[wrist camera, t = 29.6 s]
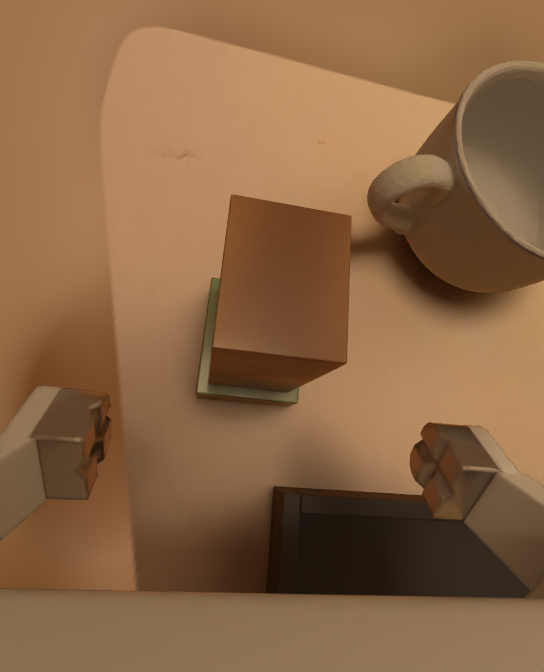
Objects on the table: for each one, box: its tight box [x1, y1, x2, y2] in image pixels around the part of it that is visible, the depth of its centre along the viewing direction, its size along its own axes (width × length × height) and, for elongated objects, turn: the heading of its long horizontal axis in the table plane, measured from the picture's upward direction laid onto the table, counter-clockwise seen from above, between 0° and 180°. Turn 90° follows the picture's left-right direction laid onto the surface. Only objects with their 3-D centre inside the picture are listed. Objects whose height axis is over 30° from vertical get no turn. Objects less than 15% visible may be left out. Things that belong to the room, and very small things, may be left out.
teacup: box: [367, 61, 544, 293], centre depth 21 cm, size 14×11×8 cm
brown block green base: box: [196, 195, 351, 406], centre depth 16 cm, size 5×6×10 cm
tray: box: [266, 486, 531, 598], centre depth 18 cm, size 18×14×3 cm
